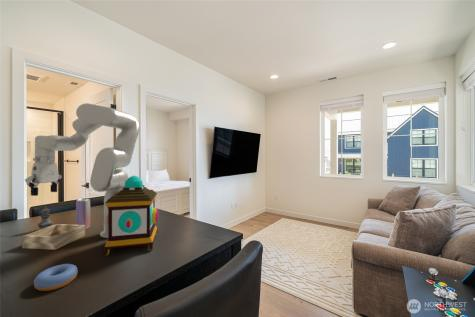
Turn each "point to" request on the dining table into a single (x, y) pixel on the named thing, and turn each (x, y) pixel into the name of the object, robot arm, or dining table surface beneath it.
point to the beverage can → (83, 212)
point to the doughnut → (55, 277)
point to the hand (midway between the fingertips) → (44, 193)
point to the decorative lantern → (131, 216)
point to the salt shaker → (45, 219)
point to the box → (53, 236)
